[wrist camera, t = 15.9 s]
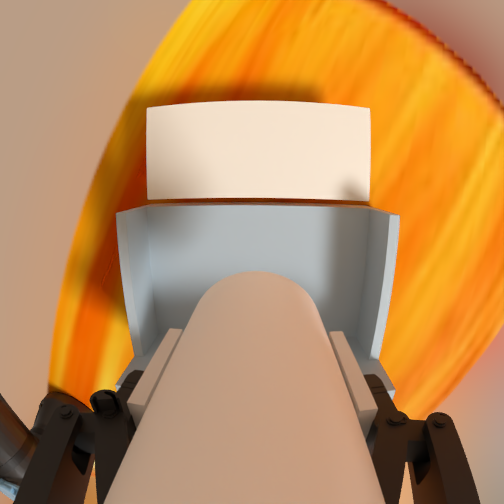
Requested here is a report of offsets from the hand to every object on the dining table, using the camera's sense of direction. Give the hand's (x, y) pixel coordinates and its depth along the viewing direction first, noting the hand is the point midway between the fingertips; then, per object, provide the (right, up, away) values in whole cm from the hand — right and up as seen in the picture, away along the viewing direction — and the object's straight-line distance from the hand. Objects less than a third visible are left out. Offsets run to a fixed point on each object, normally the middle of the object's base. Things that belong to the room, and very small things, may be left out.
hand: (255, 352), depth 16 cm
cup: (0, +1, +3) cm, 3 cm away
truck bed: (+1, +2, +18) cm, 18 cm away
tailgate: (0, +11, +11) cm, 15 cm away
